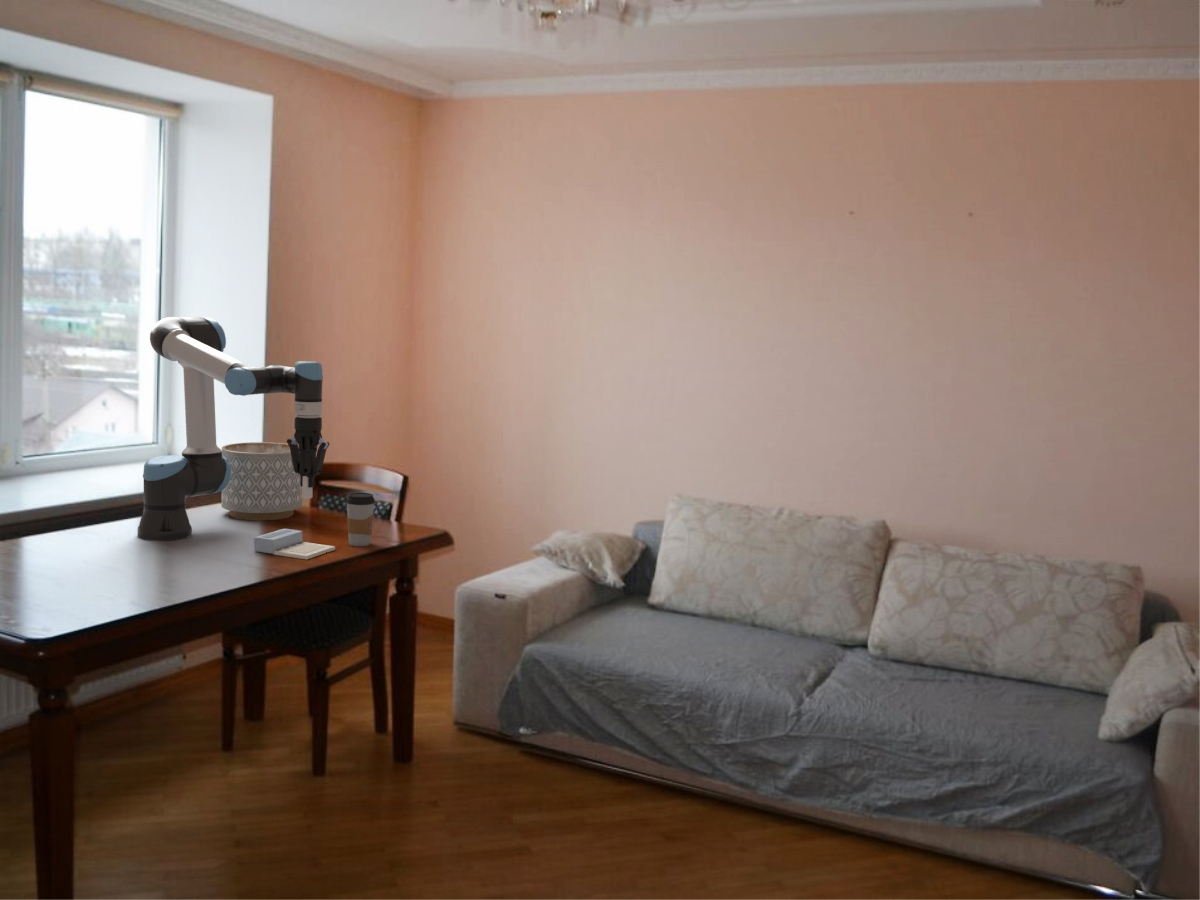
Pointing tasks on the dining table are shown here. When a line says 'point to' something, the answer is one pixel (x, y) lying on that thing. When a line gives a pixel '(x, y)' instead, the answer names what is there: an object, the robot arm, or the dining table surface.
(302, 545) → the cream rectangular plate
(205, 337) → the robot arm
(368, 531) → the coffee cup
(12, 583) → the dining table surface
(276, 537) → the grey slotted block
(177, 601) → the dining table surface
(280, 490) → the planter
